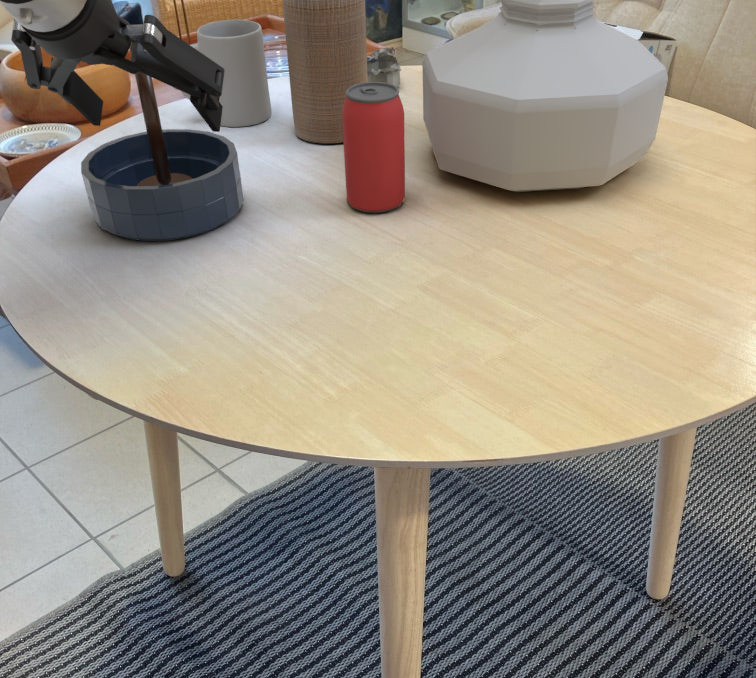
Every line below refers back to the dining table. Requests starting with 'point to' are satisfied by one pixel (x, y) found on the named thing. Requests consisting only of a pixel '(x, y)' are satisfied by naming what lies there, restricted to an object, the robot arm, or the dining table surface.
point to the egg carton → (383, 67)
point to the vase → (323, 63)
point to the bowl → (165, 202)
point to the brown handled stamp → (155, 135)
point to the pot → (542, 98)
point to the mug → (238, 69)
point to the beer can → (374, 147)
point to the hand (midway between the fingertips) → (157, 116)
